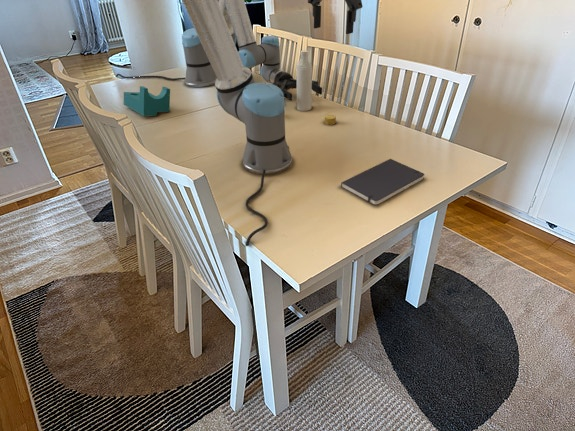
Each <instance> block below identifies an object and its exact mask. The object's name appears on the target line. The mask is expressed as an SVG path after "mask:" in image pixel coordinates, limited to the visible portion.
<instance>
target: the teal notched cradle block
mask: <svg viewBox="0 0 575 431" xmlns="http://www.w3.org/2000/svg"><path fill="white" fill-rule="evenodd" d="M123 105H124V106H126V107H128V109H131V110H133V111H134V112H136V113H138V114H139V115H141V116H143V117H156V116H158V113H170V109H171V108H170V105H171V88H169V87H166V86H162V87H161V91H160V93H159V94H158V95H155V94H153V93H151V92H149V89H148V88H147V87H145V86H141V85H140V86H139V91H123Z"/></svg>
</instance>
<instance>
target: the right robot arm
mask: <svg viewBox="0 0 575 431" xmlns="http://www.w3.org/2000/svg"><path fill="white" fill-rule="evenodd" d="M322 1H323V0H307V3H308V4H310V5H311V6H312V17H313V29H319V28H321V27H322V24H321V23H322V5H321V2H322ZM181 2H182V4H183V6H184V8H185V11H186V14H187V16H188V18H189V20H190V22H191V24H192V26H193V28H195V31H196V33H197V35H198V37H199V39H200V41H201V44H202V46H203V48H204V50H205V52H206V55H207V57H208V59H209V61H210V63H211V66H212V68H213V70H214V72H215V74H216V76H217V79H216V81H215V84H214V86H215V88H216V98H217V102H218V104H219V106H220V107H221V108H222V110H224V112H226V113H227V114H228V115H230V116H232V117H234V118H235V119H236V120H238V121H239V122H241V123H243V124H244V125H245V136H246V137H245V138H246V143H245V146H244V151H243V155H242V166H243V168H244V170H246V171H247V172H249V173H252V174H254V175H255V174H256V175H261V179H260V187H259V188H258V190H257V191H256V192H254V193H252V194H251V195H250V196H249V197H248V198H247V199H246V201H245V207H246V209H248V211H249V212H251V213H253V214H254V215H257V216H259V217H260V218H262V219H263V221H264V224H263V225H262V226H261V227H258V228H257V229H255V230H253V231H252V232H250V234H249V235H248V236H247V239H246V242H245V246H246V247H248V246H250V242H251V240H252V238H253V237H254V236H255V235H256V234H258V233H259V232H262V231H263V230H265V229H266V228H267V226H268V224H269V222H268V219H267V217H266V216H265V215H264V214H262V213H261V212H258V211H256V210H254V209H253V208H252V207H250V205H249V203H250V202H251V200H252V199H254V198H255V197H256V196H257V195H259V194H260V193H261V192H262V190H263V187H264V181H265V176H269V175H277V174H280V173H283V172H286V171H287V170H289V169H290V167H291V166H292V163H293V158H292V153H291V150H290V146H289V145H288V143H287V140H286V115H285V114H286V112H285V110H286V109H285V107H286V102H285V97H284V95H283V92H282V90H281V89H280V88H279V87H277V86H275V85H273V84H271V83H267V82H256V80H255V78H254V75H253V73H252V70H251V68H247V67H244V66H243V64H242V61H241V59H240V56H239V54H238V51H239V50H238V49H237V46H236V44H234V41H233V39H232V36H231V34H230V31H229V29H228V26H227V23H226V21H225V18H224V16H223V13H222V11H221V8H220V6H219V3H218V2H219V0H181ZM344 2H345V3H346V5H347V7H348V10H346V23H345V24H346V25H345V34H346V35H349V34H354V24H355V23H356V20H357V11H358V10H361V9H362V8H363V2H362V0H344ZM250 310H251V312H250V313H251V319H252V329H253V337H254V346H255V354H256V359H257V360H260V352H259V341H258V333H257V323H256V316H255V308H253V307H252V308H250Z"/></svg>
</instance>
